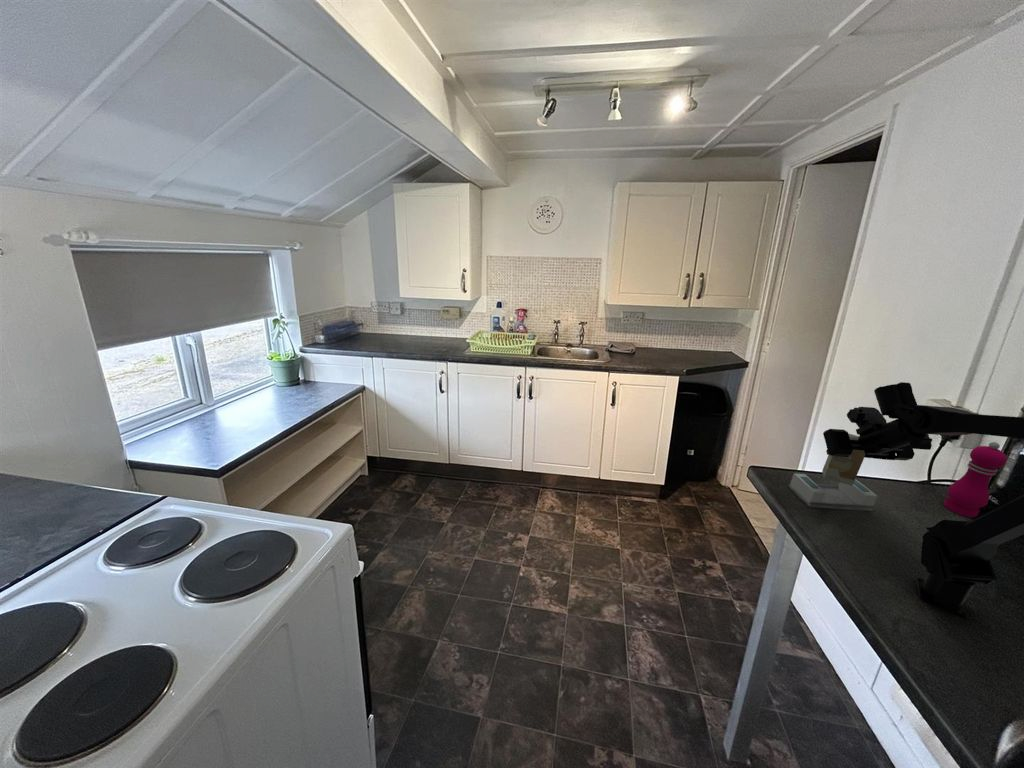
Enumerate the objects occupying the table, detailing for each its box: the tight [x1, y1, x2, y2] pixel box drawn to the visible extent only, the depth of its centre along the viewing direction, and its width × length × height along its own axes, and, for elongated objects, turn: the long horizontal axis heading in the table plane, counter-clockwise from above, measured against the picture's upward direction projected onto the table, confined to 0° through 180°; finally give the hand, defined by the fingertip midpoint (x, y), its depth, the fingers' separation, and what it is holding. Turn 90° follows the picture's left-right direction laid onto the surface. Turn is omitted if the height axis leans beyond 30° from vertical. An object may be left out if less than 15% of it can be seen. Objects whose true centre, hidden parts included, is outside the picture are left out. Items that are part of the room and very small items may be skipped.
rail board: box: [788, 481, 875, 512], centre depth 109 cm, size 16×9×1 cm, turn 88°
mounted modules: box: [789, 472, 878, 507], centre depth 108 cm, size 16×8×4 cm, turn 88°
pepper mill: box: [943, 441, 1008, 518], centre depth 104 cm, size 7×7×20 cm
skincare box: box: [821, 433, 866, 486], centre depth 105 cm, size 6×4×12 cm
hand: (842, 453), depth 106 cm, fingers closed on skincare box, 7 cm apart
